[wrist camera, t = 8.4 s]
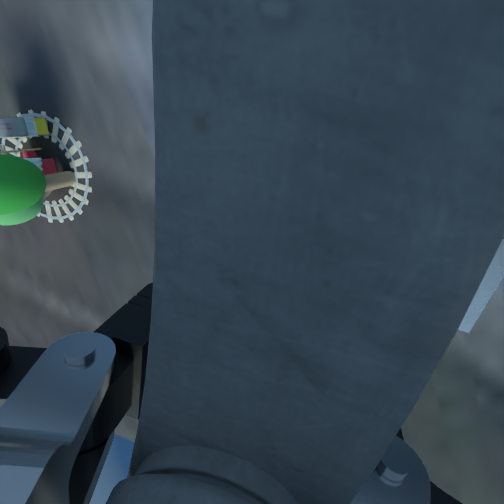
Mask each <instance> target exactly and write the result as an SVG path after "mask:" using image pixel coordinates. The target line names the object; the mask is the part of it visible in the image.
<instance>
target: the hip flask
mask: <svg viewBox="0 0 504 504" xmlns="http://www.w3.org/2000/svg"><path fill="white" fill-rule="evenodd" d="M152 53H153V86H154V119H155V151H156V155H155V255H154V273H153V291H152V309H151V324H150V335H149V345H148V356H147V366H146V377H145V385H144V391H143V398H142V404H141V411H140V417H139V424H138V430H137V434H136V439H135V444H134V449H133V453H132V458H131V463H130V467H129V472H128V476H127V478H126V479H124V480H122V481H120V482H119V483H118V484H117V485H116V486H115V487H114V488H113V490H112V492H111V494H110V496H109V499H108V501H107V502H106V504H350V503H351V502H352V500H353V499H354V497H355V496H356V495H357V493H358V492H359V490H360V489H361V488H362V486H363V485H364V483H365V482H366V481H367V479H368V478H369V476H370V475H371V474H372V472H373V471H374V469H375V468H376V466H377V465H378V463H379V461H380V460H381V458H382V457H383V455H384V453H385V452H386V450H387V449H388V447H389V445H390V444H391V442H392V441H393V439H394V437H395V436H396V434H397V433H398V431H399V429H400V428H401V426H402V425H403V423H404V422H405V420H406V418H407V417H408V415H409V414H410V412H411V410H412V409H413V407H414V405H415V404H416V402H417V400H418V398H419V397H420V395H421V393H422V391H423V390H424V388H425V386H426V384H427V383H428V381H429V379H430V377H431V376H432V374H433V372H434V370H435V368H436V367H437V365H438V363H439V361H440V360H441V358H442V356H443V354H444V353H445V351H446V349H447V347H448V346H449V344H450V342H451V340H452V339H453V337H454V335H455V333H456V332H457V330H458V328H459V326H460V324H461V322H462V320H463V318H464V316H465V314H466V312H467V310H468V308H469V306H470V304H471V302H472V300H473V298H474V296H475V294H476V292H477V290H478V288H479V286H480V284H481V282H482V280H483V278H484V276H485V274H486V272H487V270H488V268H489V266H490V264H491V262H492V260H493V258H494V256H495V254H496V252H497V250H498V248H499V246H500V244H501V242H502V239H503V237H504V0H153V21H152Z"/></svg>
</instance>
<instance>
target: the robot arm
mask: <svg viewBox="0 0 504 504" xmlns="http://www.w3.org/2000/svg"><path fill="white" fill-rule="evenodd" d="M152 291H153V283H151V284H148V285H147V286H145V287H144V288H143V289H142V290H141V291H140V292H139V293H137V296H134V297H133V298H132V299H131V300H129V301H128V304H125V305H124V306H123V307H121V308H120V309H119V310H118V311H117V312H116V313H115V314H113V315H112V316H111V317H110V318H109V319H108V320H107V321H106V322H104V323H103V324H102V325H101V326H100V327H99V328H98V329H96V330H95V331H94V332H80V333H74V334H70V335H67V336H65V337H62V338H60V339H58V340H57V341H55V342H54V343H52V344H51V345H50V346H49V347H48V348H34V347H18V346H9V342H8V336H7V333H6V331H5V330H4V329H3V328H1V327H0V504H89V503H90V500H91V498H92V495H93V492H94V490H95V487H96V484H97V481H98V479H99V476H100V473H101V471H102V468H103V465H104V463H105V460H106V457H107V455H108V452H109V449H110V447H111V444H112V441H113V438H114V431H115V428H116V427H117V425H118V424H119V422H120V421H121V420H122V418H123V417H124V415H127V416H129V417H132V418H135V419H137V420H138V419H139V417H140V411H141V404H142V398H143V391H144V385H145V377H146V366H147V356H148V345H149V335H150V324H151V309H152ZM350 504H462V503H461V502H459V501H458V500H456V499H454V498H453V497H451V496H450V495H448V494H447V493H445V492H444V491H442V490H441V489H440V488H438V487H437V486H436V485H435V484H433V483H432V482H431V481H430V479H429V475H428V472H427V470H426V467H425V466H424V464H423V462H422V460H421V459H420V458H419V456H418V455H417V454H416V452H415V451H414V450H413V449H412V448H411V447H410V446H409V445H408V444H407V443H406V442H404V439H403V435H402V431H401V428H400V429H399V431H398V433H397V434H396V436H395V437H394V439H393V441H392V442H391V444H390V445H389V447H388V449H387V450H386V452H385V453H384V455H383V457H382V458H381V460H380V461H379V463H378V465H377V466H376V468H375V469H374V471H373V472H372V474H371V475H370V476H369V478H368V479H367V481H366V482H365V483H364V485H363V486H362V488H361V489H360V490H359V492H358V493H357V495H356V496H355V497H354V499H353V500H352V502H351V503H350Z"/></svg>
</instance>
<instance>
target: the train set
mask: <svg viewBox="0 0 504 504" xmlns="http://www.w3.org/2000/svg"><path fill="white" fill-rule="evenodd" d="M35 116H36V117H37V118H35ZM47 120H49V121H50V122H52V123H54V124H53V131H52V134H51V133H50V132H48V126H47ZM59 127H60V128H61V129H62V130H63V131H64V132H65V133H64V135H63V137H62V140H60V139H59V138H58V137H57V136H58V128H59ZM71 132H72V130H71V129H70V128H69V127H67V129H65V128H64V127H63V126H62V125H61V124H60V123H59V119H58V118H56V117H55V118H54V120H53V119H52V118H50V117H48V116H46V112H44V111H41V114H37V113H33V111H32V110H28V114H22V115H21V113H20V112H19V113H18V114H17V117H12V118H0V138H2V144H0V149H1V151H0V225H16V224H20V223H24V222H26V221H28V220H30V219H32V218H34V217H35V216H36V215H37V216H38V217H39V216H40V215H41V216H44V217H47V218H48V221H49V222H51V223H53V220H52V219H58V220H59V222H60V223H62V222H64V221H63V219H65V218H68V217H69V219H70V220H71V221H72V220H73V219H74V217H73V215H74V214H76V213H77V212H78V213H79V214H80V215H81V214H82V212H83V211H82V210H81V208H82V206H83V204H86V205H88V202H89V201H88V200H87V199H86V198H87V194H88V192H92V188H91V187H89V178H92V174H91V172H88V169H87V165H86V163H87V162H88V161H89V160H88V158H87V156H83V154H82V151H81V149H80V147H81V146H82V144H81V143H80V141H77V142H76V141H75V139H74V138H73V137H72V135H71ZM41 136H44V138H49V136H52V142H54V143H56V142H57V141H59V142H60V144H59V148H60V149H61V150H63V149H64V148H65V149H66V151H67V152H66V153H65V156H66V157H67V159H69V158H71V160H72V162H70V163H69V165H70V167H71V168H74V170H75V172H71V171H64V172H59V173H57V169H56V165H55V162H54V158H50V159H42V158H33V157H37V156H36V153H35V151H34V150H42V149H41V148H33V149H22V144H21V143H20V142H21V141H23V142H26V141H27V138H26V137H29V138H30V139H31V138H32V137H41ZM16 137H20V139H19V140H16V139H15V138H16ZM6 138H7V139H8V140H9V141H11V142H12V143H13V144H15V145H16V147H15V149H13V148H10V147H8V146H5V140H6ZM69 138H70V139H71V140H72V142H73V143H74V145H73V146H72V147H71V148H70V149H69V150H68V148H67V147H66V143H67V141H68V139H69ZM18 147H19V148H20V149H22V150H18ZM77 150H78V152H79V154H80V157H81V158H79V159H77V160H74V159H73V157H72V155H73V154H74V153H75V152H76V151H77ZM23 151H27V152H23ZM20 152H22V154H23V157H24V158H20ZM7 153H11V154H13V155H14V156H12V155H7ZM17 156H18V157H17ZM82 164H83V165H84V170H85V172H77V168H76V167H77V166H80V165H82ZM78 178H86V185H83V184H80V183H78ZM67 186H73V187H74V191H73V190H72V189H70V190H69V194H71V197H69V196H67V195H66V196H65V197H64V198H65V200H66V202H64V201H63V200H62V199H60V200H59V203H60V204H57V203H56V201H52V204H50V203H49V201H45V202H43V200H44V199H45V198H46V197H47V196H48V195H49V194H50V193H51V191H52V190H56V189H60V188H63V187H67ZM77 188H78V189H81V190H84V191H85V192H84V197H82V196H81V195H79V194H78V193H76V190H77ZM73 196H74V197H75V198H77V199H78V200H80V201H81V203H80V205H79V206H77V205H76V204H75V203H74V202H73V201H72V198H73ZM67 203H69V204H70V205H71V206H72V207H73V208H74V209H75V210H74V211H73V212H72V213H71V212H70V211H69V209H68V208H67V206H66V205H65V204H67ZM43 204H44V205H45V206H46V212H47V214H43V213H41V209H42V207H43ZM50 206H51V207H54V209H55V212H56V215H57V216H52V214H51V208H50ZM60 206H62V208H63V209H64V211H65V213H66V214H67V215H65V216H62V215H61V213H60V210H59V208H58V207H60Z"/></svg>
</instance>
